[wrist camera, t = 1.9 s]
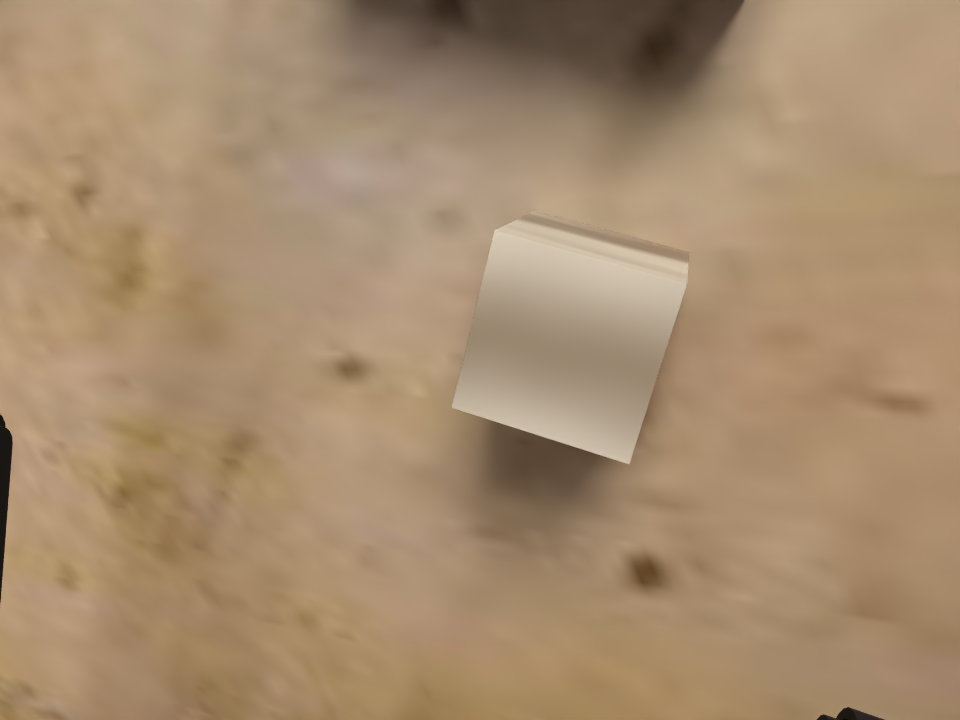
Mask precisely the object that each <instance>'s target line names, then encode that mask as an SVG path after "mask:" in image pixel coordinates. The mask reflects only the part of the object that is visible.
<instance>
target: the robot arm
mask: <svg viewBox="0 0 960 720" xmlns="http://www.w3.org/2000/svg"><path fill="white" fill-rule="evenodd" d="M12 444H13V443H12V435H11V433H10V431H9V430H8V429H7V428H5V422H4V419H3V417H2V415H0V601H1V588H2V575H3V562H4V549H5V536H6V523H7V510H8V496H9V483H10V470H11V457H12ZM817 720H884V719H881V718H878V717H875V716H872V715H869V714H866V713H864V712H861V711H858V710H855V709H852V708H849V707H847V708H844V709H843V710H842V711H841V712H840V713H839V714H838V716H837V718H833V717H830V716H827V715H821V716H820V717H819V718H818V719H817Z"/></svg>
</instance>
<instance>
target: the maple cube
mask: <svg viewBox="0 0 960 720" xmlns="http://www.w3.org/2000/svg"><path fill="white" fill-rule="evenodd" d="M688 262H689V252H686V251H682V250H679V249H675V248H671V247H668V246H664V245H660V244H657V243H653V242H649V241H646V240H642V239H638V238H635V237H631V236H627V235H624V234H620V233H617V232H613V231H609V230H606V229H602V228H598V227H595V226H591V225H587V224H584V223H580V222H576V221H573V220H569V219H565V218H562V217H558V216H554V215H551V214H547V213H544V212H540V211H534V212H532V213H530V214H527V215H525V216H523V217H521V218H519V219H517V220H515V221H513V222H511V223H509V224H507V225H505V226H502V227H500V228H498V229H496V230H495V231H494V236H493V240H492V244H491V248H490V252H489V256H488V260H487V264H486V268H485V272H484V277H483V281H482V285H481V289H480V293H479V297H478V301H477V305H476V309H475V313H474V317H473V322H472V326H471V330H470V334H469V338H468V342H467V346H466V350H465V354H464V358H463V363H462V367H461V371H460V375H459V379H458V383H457V387H456V391H455V395H454V399H453V404H452V408H454V409H457V410H460V411H463V412H467V413H470V414H473V415H476V416H479V417H482V418H485V419H489V420H492V421H495V422H498V423H501V424H504V425H507V426H511V427H514V428H517V429H520V430H523V431H526V432H529V433H533V434H536V435H539V436H542V437H545V438H548V439H551V440H555V441H558V442H561V443H564V444H567V445H570V446H573V447H577V448H580V449H583V450H586V451H589V452H592V453H595V454H598V455H602V456H605V457H608V458H611V459H614V460H617V461H620V462H624V463H627V464H629V463H630V460H631V457H632V454H633V451H634V448H635V445H636V442H637V439H638V435H639V432H640V429H641V426H642V423H643V420H644V417H645V414H646V410H647V407H648V404H649V401H650V398H651V395H652V392H653V389H654V385H655V382H656V379H657V376H658V373H659V370H660V367H661V364H662V361H663V357H664V354H665V351H666V348H667V345H668V342H669V339H670V336H671V332H672V329H673V326H674V323H675V320H676V317H677V314H678V311H679V307H680V304H681V301H682V298H683V295H684V292H685V289H686V286H687V277H688Z"/></svg>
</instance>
